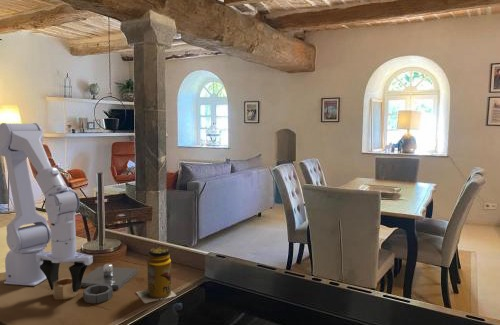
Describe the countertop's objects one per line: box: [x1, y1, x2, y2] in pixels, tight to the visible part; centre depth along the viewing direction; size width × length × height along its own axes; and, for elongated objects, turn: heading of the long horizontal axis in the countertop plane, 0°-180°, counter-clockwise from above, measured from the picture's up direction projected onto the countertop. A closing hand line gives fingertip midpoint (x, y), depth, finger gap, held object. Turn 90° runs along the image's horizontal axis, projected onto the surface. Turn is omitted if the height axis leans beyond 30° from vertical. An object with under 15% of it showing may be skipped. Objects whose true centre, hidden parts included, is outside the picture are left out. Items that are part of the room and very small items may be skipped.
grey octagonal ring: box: [82, 284, 114, 304], centre depth 101 cm, size 7×7×2 cm
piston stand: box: [80, 263, 138, 291], centre depth 112 cm, size 12×12×4 cm
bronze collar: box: [52, 277, 79, 301], centre depth 102 cm, size 6×6×3 cm
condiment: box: [135, 246, 177, 304], centre depth 102 cm, size 7×8×12 cm
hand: (65, 289), depth 102 cm, fingers closed on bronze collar, 6 cm apart
